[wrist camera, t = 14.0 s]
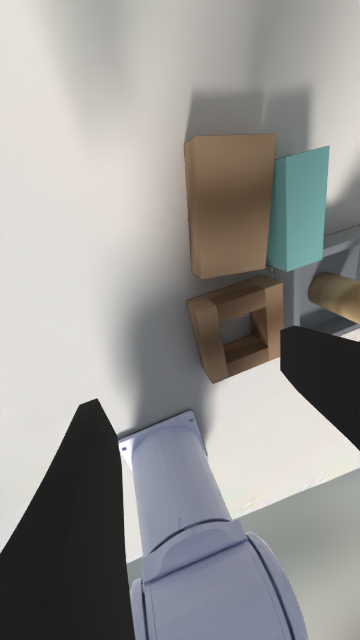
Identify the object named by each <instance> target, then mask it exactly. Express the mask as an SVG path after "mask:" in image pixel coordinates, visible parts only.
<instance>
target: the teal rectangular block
mask: <svg viewBox="0 0 360 640" xmlns="http://www.w3.org/2000/svg"><path fill="white" fill-rule="evenodd" d="M328 160H329V146H326V147H322V148H318V149H314V150H310V151H307V152H303V153H299V154H295V155H291V156H287V157H284V158H280V159H276V160H274V169H273V181H272V194H271V206H270V218H269V230H268V242H267V254H266V265H269V266H272V267H275V268H278V269H281V270H283V271H286V272H288V271H291V270H293V269H296V268H299V267H302V266H305V265H308V264H311V263H314V262H316V261H319V260H322V253H323V238H324V222H325V207H326V191H327V176H328Z"/></svg>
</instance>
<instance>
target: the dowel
mask: <svg viewBox="0 0 360 640" xmlns="http://www.w3.org/2000/svg"><path fill="white" fill-rule="evenodd" d="M307 294H308V299H309V301H310V302H312V303H314V304H316V305H318V306H320V307H323V308H325V309H327V310H329V311H331V312H334V313H336V314H338V315H340V316H343V317H345V318H347V319H349V320H351V321H354V322H356V323H358V324H360V281H358V280H354V279H351V278H347V277H344V276H340V275H337V274H333V273H330V272H323V273H321V274H319V275H317V276H316V277H315V278H314V279H313V280H312V282H311V284H310V285H309V288H308V293H307Z"/></svg>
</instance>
